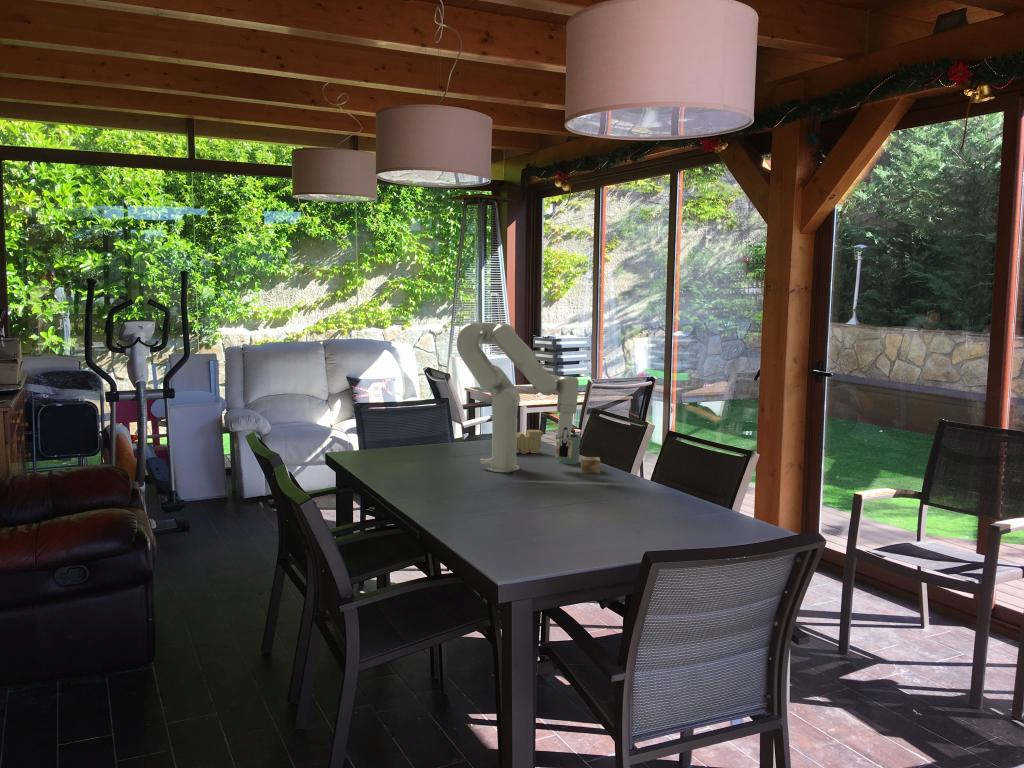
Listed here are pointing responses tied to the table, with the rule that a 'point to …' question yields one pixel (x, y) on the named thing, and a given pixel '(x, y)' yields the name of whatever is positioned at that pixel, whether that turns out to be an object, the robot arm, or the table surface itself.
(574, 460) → the green cup
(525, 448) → the toy train
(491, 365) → the robot arm
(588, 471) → the walnut base block
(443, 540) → the table surface
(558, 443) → the birch cube
